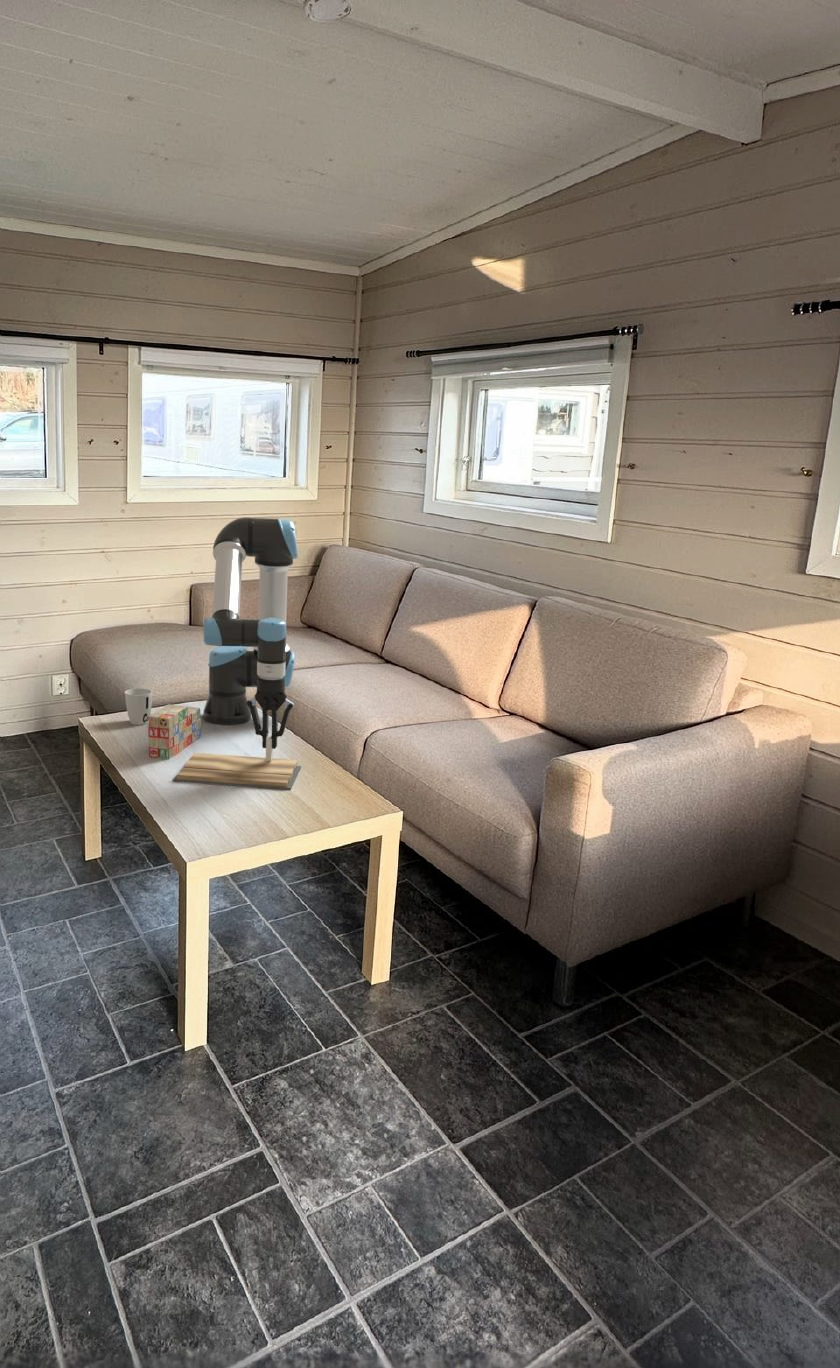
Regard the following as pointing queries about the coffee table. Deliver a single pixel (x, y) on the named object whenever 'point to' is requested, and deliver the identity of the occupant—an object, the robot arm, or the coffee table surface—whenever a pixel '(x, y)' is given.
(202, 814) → the coffee table surface
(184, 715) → the stack of blocks
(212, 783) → the underlay
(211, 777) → the laid plank
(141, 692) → the cup
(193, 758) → the board
